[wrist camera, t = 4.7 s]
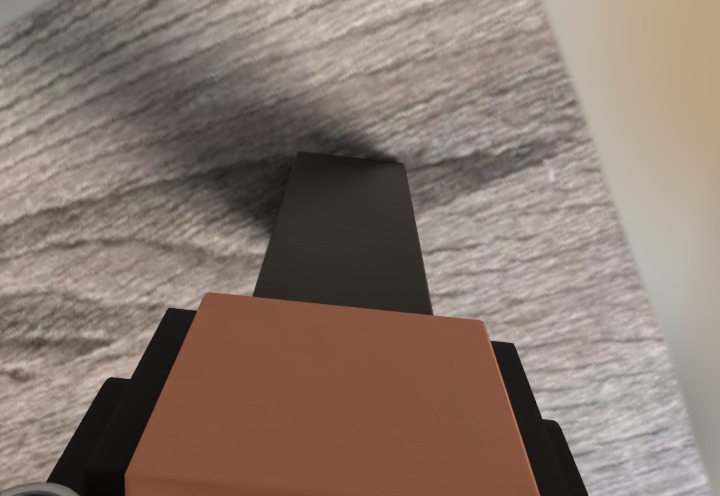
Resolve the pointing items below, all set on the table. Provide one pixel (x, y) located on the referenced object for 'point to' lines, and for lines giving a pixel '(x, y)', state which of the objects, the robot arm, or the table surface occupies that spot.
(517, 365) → the robot arm
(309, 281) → the stand
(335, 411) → the orange cube
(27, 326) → the table surface
